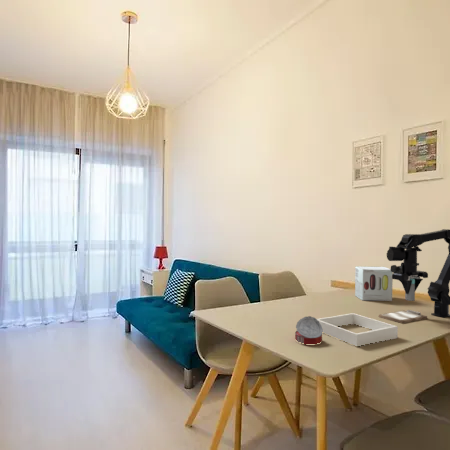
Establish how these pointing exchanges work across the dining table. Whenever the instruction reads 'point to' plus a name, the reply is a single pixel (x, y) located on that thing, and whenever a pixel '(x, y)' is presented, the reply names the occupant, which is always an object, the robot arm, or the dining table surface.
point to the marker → (411, 292)
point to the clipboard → (403, 316)
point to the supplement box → (373, 283)
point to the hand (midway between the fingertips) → (410, 293)
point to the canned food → (308, 331)
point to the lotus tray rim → (378, 332)
